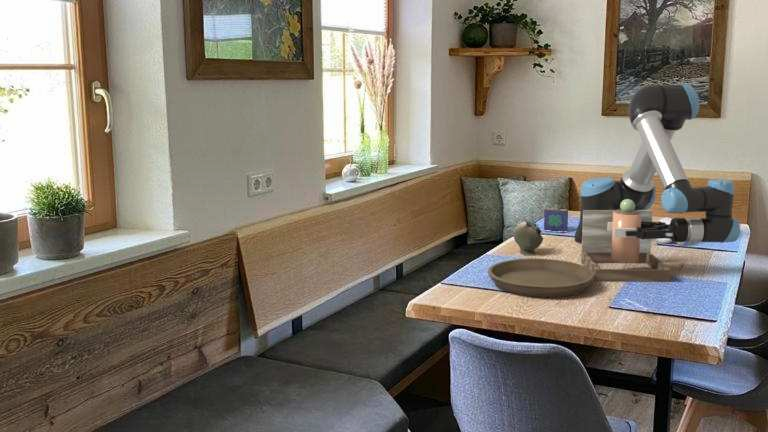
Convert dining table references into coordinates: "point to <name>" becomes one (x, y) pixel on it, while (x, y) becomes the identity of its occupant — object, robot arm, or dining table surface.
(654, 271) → the cold frame
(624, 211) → the pink canister
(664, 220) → the white knot sculpture
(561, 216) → the purple square panel
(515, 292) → the plant saucer
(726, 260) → the dining table surface
